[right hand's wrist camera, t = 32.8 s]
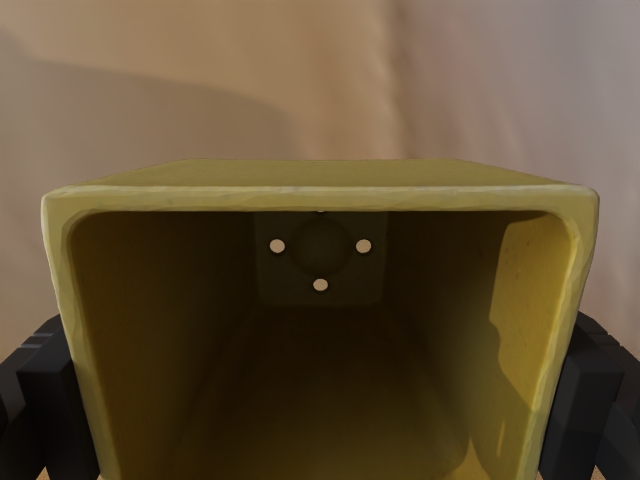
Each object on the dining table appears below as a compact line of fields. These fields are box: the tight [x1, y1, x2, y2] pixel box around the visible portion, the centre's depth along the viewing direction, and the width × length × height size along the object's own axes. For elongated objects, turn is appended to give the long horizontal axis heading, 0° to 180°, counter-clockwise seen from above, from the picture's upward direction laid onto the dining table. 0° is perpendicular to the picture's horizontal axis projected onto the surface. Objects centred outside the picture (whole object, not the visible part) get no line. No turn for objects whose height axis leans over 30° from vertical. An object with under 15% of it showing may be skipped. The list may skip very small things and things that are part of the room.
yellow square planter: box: [41, 159, 600, 480], centre depth 12 cm, size 9×9×9 cm
